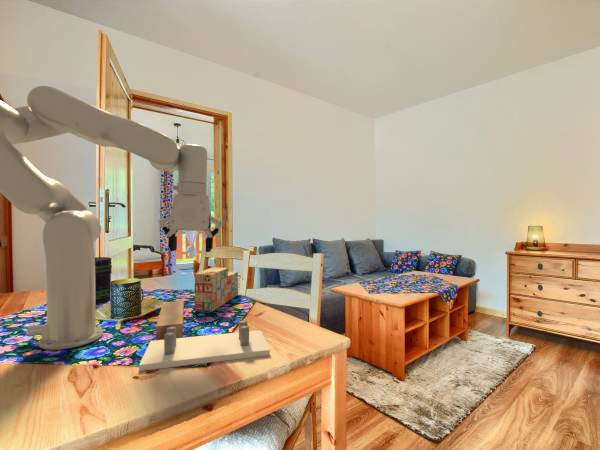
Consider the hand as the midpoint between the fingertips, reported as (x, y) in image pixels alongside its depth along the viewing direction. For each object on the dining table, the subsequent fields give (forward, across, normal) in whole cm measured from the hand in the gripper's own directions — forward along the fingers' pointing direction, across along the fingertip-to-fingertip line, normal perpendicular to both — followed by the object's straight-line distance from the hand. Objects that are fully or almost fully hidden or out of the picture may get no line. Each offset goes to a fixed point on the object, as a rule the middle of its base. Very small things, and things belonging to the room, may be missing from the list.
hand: (190, 251), depth 85 cm
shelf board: (+21, -5, 0) cm, 22 cm away
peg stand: (+21, +10, -17) cm, 28 cm away
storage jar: (+22, -41, +25) cm, 53 cm away
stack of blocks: (+21, +3, +23) cm, 31 cm away
